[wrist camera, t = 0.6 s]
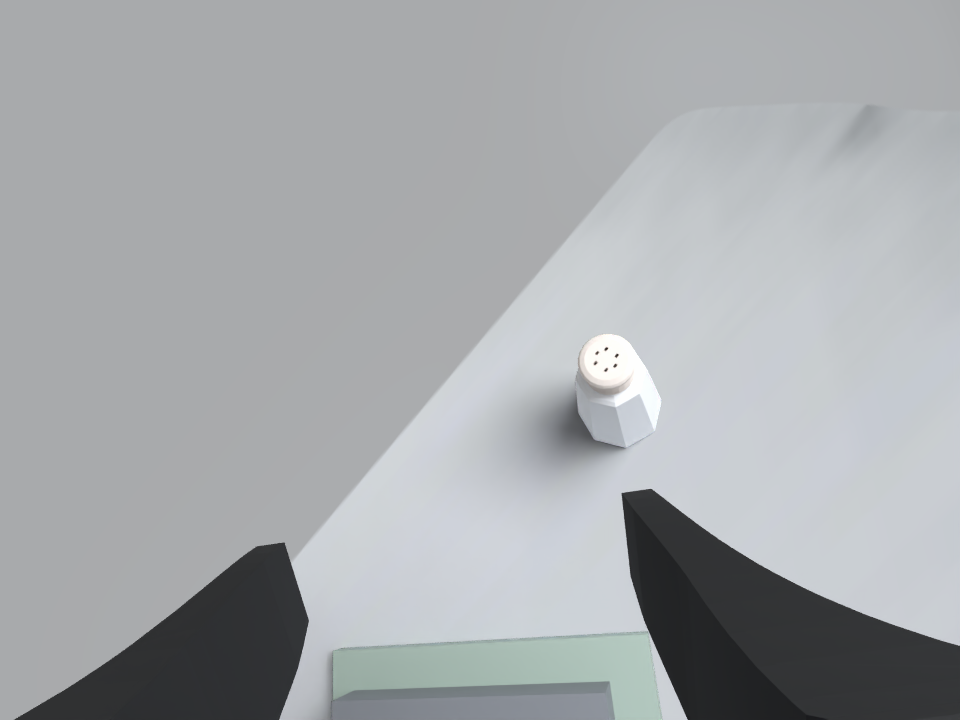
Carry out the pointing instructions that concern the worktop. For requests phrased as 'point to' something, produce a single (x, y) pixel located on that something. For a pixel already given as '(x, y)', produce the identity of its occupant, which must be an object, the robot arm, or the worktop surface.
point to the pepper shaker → (615, 392)
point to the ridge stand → (499, 680)
